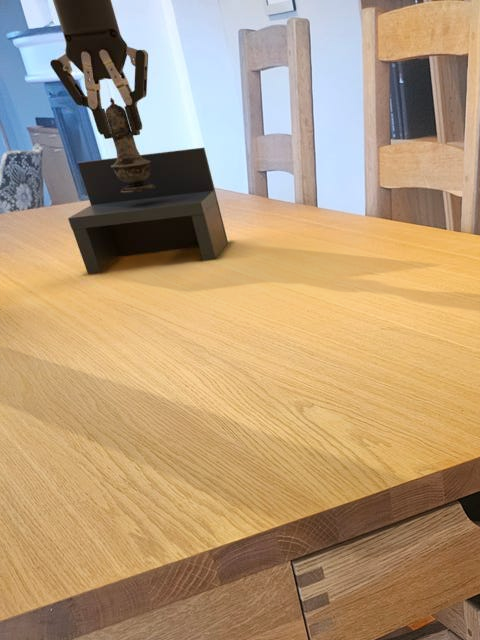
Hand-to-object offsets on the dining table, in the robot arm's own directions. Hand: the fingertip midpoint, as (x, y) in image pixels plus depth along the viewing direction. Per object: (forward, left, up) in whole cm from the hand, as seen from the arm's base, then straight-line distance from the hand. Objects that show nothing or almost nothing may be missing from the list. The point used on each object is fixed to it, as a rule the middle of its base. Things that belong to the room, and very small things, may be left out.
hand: (122, 135), depth 124 cm
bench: (0, +1, -17) cm, 17 cm away
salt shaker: (0, 0, -7) cm, 7 cm away
